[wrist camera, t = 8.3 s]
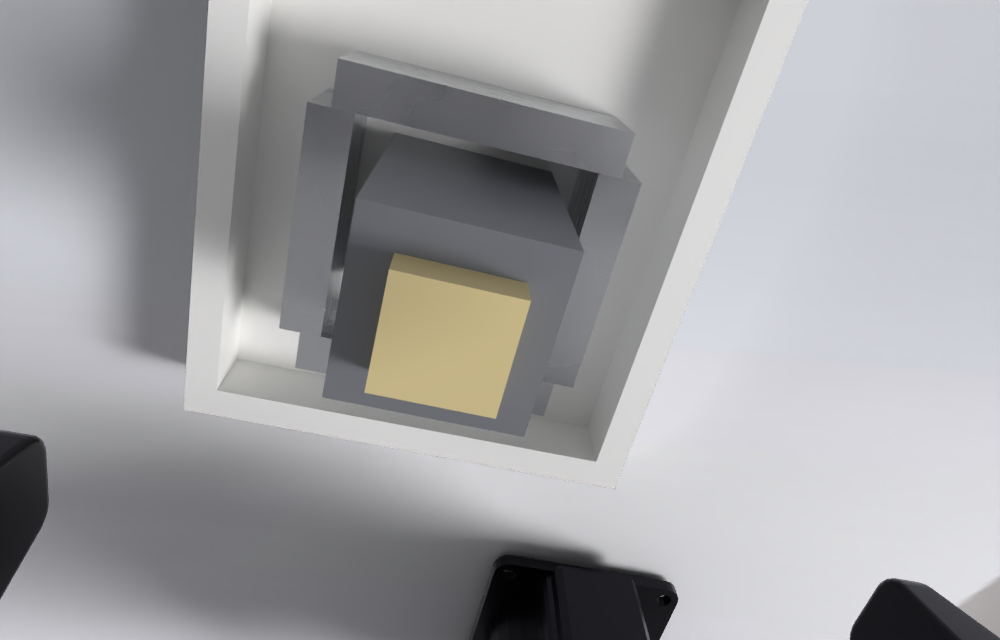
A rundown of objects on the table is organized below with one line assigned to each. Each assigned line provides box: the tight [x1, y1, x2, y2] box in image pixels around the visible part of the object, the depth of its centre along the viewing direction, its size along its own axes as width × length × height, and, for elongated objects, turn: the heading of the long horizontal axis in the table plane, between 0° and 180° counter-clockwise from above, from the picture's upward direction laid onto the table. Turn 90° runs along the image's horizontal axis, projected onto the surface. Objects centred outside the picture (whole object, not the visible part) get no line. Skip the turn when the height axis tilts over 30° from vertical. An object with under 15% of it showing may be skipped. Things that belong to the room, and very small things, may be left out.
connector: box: [322, 132, 584, 437], centre depth 15 cm, size 4×4×7 cm
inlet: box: [279, 50, 642, 416], centre depth 17 cm, size 7×7×2 cm
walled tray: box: [183, 0, 808, 489], centre depth 17 cm, size 14×12×2 cm
